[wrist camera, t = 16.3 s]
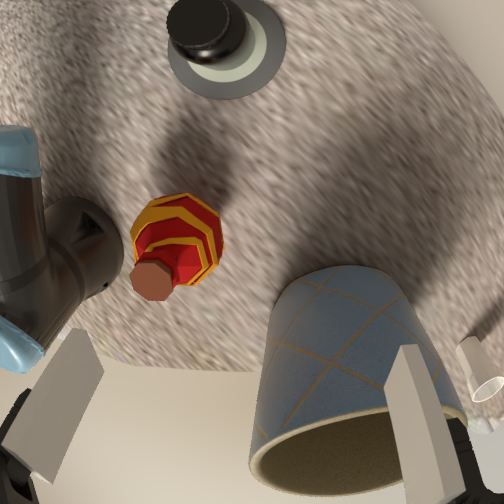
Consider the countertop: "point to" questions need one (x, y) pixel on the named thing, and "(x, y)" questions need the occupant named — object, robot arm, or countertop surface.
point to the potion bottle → (174, 245)
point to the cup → (479, 370)
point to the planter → (336, 384)
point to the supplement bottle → (211, 33)
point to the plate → (247, 75)
